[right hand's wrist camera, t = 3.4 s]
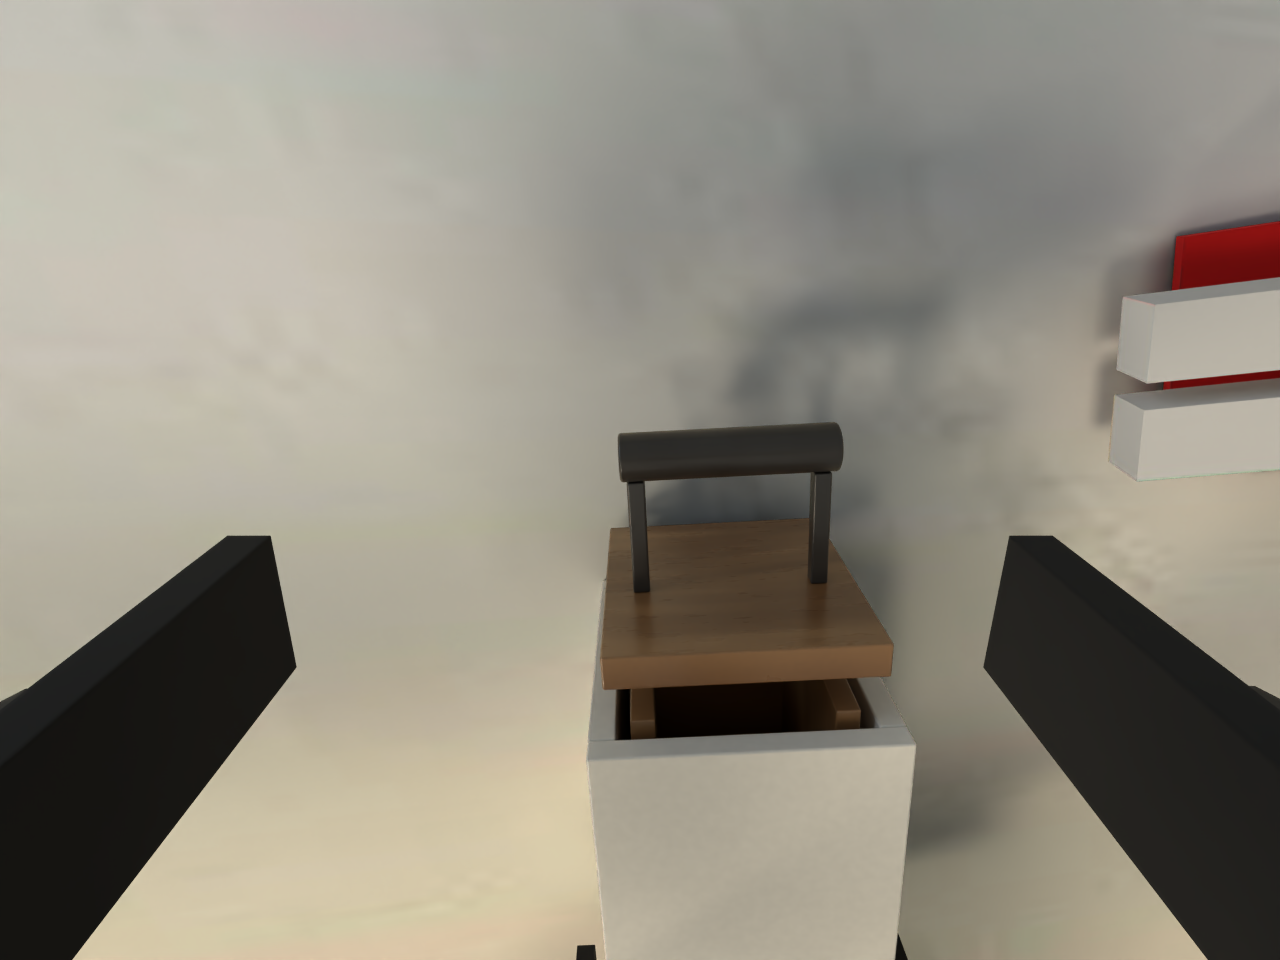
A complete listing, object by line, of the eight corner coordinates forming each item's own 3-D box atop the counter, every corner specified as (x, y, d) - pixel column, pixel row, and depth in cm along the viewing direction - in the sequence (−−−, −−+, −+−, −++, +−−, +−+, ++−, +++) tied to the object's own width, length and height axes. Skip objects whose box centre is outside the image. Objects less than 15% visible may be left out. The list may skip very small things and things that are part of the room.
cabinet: (602, 579, 33) (585, 760, 22) (822, 568, 33) (917, 744, 22) (627, 894, 39) (624, 1153, 28) (810, 886, 39) (877, 1143, 28)
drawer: (600, 396, 29) (584, 478, 20) (821, 384, 29) (909, 462, 19) (634, 851, 37) (633, 1059, 28) (804, 843, 37) (861, 1049, 28)
